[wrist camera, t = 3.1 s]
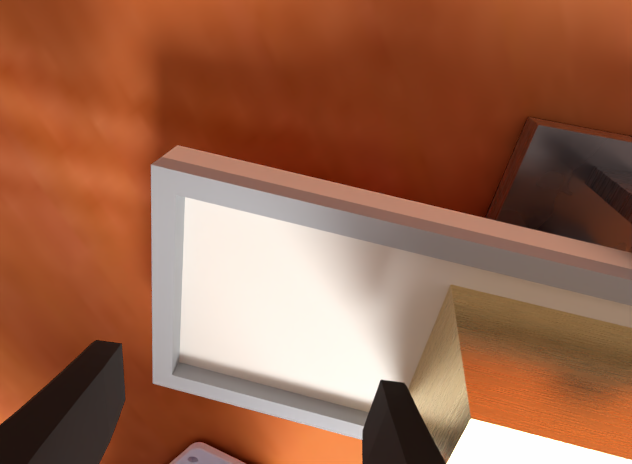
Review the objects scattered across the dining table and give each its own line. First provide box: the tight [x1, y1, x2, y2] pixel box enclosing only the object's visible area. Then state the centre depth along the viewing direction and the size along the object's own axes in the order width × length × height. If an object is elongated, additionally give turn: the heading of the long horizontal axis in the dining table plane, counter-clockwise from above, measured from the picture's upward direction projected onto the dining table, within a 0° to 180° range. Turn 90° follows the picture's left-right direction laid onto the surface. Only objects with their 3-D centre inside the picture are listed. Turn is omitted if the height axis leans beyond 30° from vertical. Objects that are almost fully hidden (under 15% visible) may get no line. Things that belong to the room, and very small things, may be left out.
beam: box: [151, 145, 632, 440], centre depth 14 cm, size 27×9×2 cm, turn 80°
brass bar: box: [408, 284, 632, 464], centre depth 12 cm, size 8×5×4 cm, turn 80°
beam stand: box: [485, 117, 632, 253], centre depth 16 cm, size 6×13×5 cm, turn 170°
